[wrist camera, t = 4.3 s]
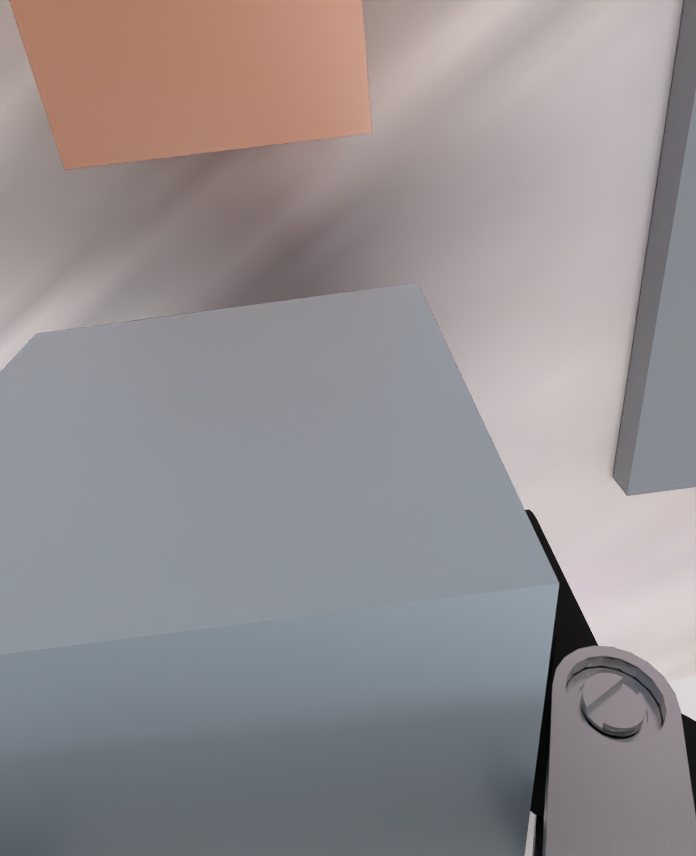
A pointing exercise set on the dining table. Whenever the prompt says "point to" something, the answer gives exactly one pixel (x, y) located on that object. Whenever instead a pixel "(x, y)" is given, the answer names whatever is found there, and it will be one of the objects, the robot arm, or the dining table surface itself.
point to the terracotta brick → (194, 74)
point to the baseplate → (667, 307)
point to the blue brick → (264, 591)
